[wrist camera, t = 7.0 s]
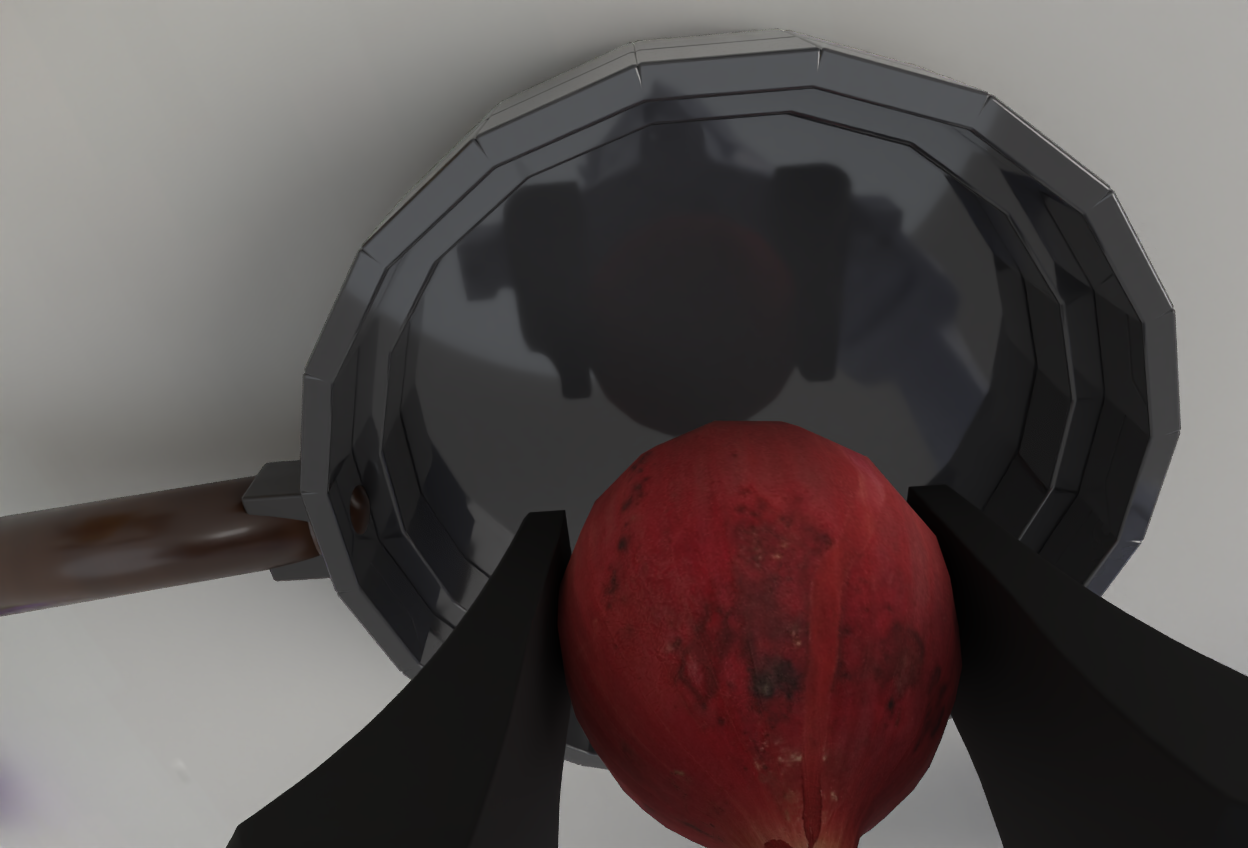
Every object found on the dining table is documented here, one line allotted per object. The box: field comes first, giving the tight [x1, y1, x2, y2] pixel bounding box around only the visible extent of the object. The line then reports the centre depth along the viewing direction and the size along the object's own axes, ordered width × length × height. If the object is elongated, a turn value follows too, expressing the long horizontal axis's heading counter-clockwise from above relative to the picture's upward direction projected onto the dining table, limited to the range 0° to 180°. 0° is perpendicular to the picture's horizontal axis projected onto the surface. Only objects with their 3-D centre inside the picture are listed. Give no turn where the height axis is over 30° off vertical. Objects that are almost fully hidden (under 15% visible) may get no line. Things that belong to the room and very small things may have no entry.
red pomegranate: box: [557, 421, 962, 848], centre depth 12 cm, size 6×6×8 cm
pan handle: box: [0, 460, 370, 617], centre depth 15 cm, size 10×2×3 cm, turn 94°
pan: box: [299, 29, 1181, 769], centre depth 15 cm, size 15×15×3 cm
